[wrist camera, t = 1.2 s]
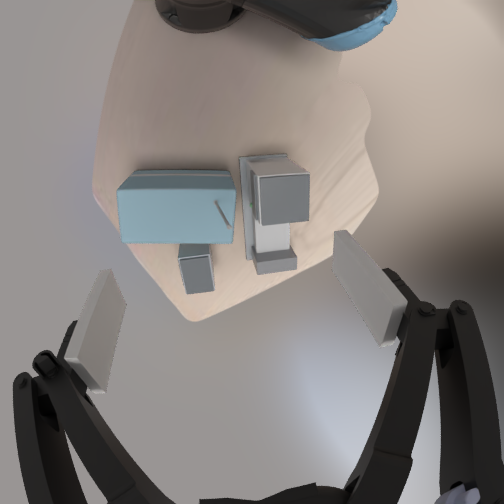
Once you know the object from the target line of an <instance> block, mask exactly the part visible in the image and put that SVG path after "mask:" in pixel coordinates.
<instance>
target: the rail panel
mask: <svg viewBox="0 0 504 504" xmlns="http://www.w3.org/2000/svg"><path fill="white" fill-rule="evenodd" d="M281 157H287V154H272V155H258V156H246V157H239V164H240V178H241V192H242V206H243V219H244V232H245V246H246V259H247V260H253V259H252V250H251V246H254V247H255V250H256V253H264V252H271V251H279V250H287V249H290V223H284V224H275V225H267V226H260V224H259V222H258V220H256V219H255V217H254V215H253V211H252V208H251V207H250V206H249V205H250V202H249V200H248V188H247V172H246V160H250V162H251V163H258V162H259V160H257V161H255V162H252V161H253V159H254V160H255V159H261V162H262V159H264V160H265V159H266V158H281ZM251 160H252V161H251ZM265 161H266V160H265Z"/></svg>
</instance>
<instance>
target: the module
mask: <svg viewBox="0 0 504 504" xmlns="http://www.w3.org/2000/svg"><path fill="white" fill-rule="evenodd" d="M178 262H179V267H180V271H181V276H182V280H183V285H184V287H185V291H186V294H194V293H202V292H210V291H214V290H215V282H214V270H213V261H212V254H211V248H210V244H194V243H180V248H179V255H178Z"/></svg>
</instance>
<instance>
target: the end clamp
mask: <svg viewBox="0 0 504 504" xmlns="http://www.w3.org/2000/svg"><path fill="white" fill-rule="evenodd" d="M251 250H252V259H253V262H254V265H255V268H256V272H257V275H261V274H268V273H275V272H282V271H289V270H296V269H297V256H296V254H295V253H294V251H293V249H292V247H291V246H290V249H287V250H279V251H271V252H264V253H256V250H255V247H254V246H251Z"/></svg>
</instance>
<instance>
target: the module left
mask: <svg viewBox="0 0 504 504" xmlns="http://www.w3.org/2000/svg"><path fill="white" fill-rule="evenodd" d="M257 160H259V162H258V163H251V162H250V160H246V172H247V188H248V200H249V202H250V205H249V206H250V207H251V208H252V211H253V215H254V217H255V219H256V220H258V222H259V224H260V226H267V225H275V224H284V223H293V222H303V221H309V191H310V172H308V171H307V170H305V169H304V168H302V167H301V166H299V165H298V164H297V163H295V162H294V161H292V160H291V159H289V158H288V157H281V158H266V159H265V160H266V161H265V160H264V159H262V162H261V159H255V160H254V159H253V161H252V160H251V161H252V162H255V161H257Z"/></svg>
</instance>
